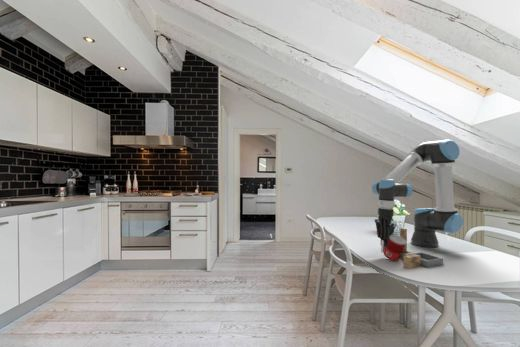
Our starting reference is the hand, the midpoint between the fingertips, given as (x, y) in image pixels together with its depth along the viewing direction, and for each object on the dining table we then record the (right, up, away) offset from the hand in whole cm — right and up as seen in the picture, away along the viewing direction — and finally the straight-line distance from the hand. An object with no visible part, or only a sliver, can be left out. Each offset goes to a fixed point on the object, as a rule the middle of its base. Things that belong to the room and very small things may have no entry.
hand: (383, 252), depth 151 cm
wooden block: (+7, -3, -14) cm, 16 cm away
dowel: (+11, -3, +2) cm, 12 cm away
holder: (+11, -3, +2) cm, 12 cm away
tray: (+17, -3, -8) cm, 19 cm away
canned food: (+2, -1, -3) cm, 4 cm away
